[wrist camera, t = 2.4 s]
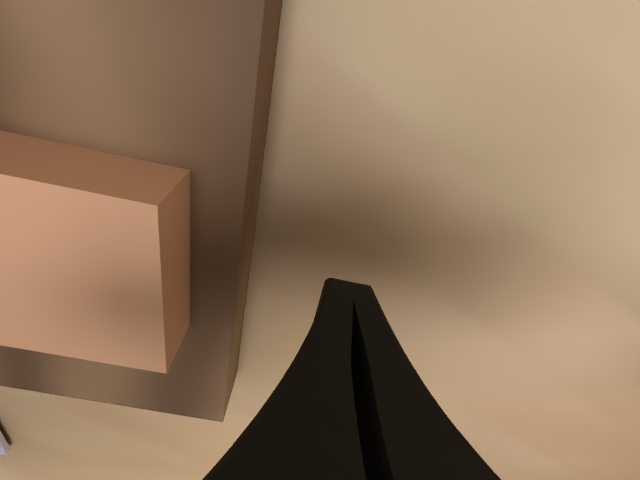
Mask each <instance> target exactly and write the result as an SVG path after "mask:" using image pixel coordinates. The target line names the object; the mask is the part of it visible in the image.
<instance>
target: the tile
mask: <svg viewBox="0 0 640 480" xmlns="http://www.w3.org/2000/svg"><path fill="white" fill-rule="evenodd" d="M189 326H190V170H187V169H182V168H178V167H173V166H168V165H163V164H159V163H154V162H149V161H144V160H140V159H135V158H130V157H125V156H121V155H116V154H111V153H106V152H102V151H97V150H92V149H87V148H83V147H78V146H73V145H68V144H64V143H59V142H54V141H49V140H45V139H40V138H35V137H30V136H26V135H21V134H16V133H11V132H7V131H2V130H0V345H2V346H8V347H14V348H20V349H26V350H31V351H37V352H43V353H49V354H55V355H61V356H66V357H72V358H78V359H84V360H90V361H95V362H101V363H107V364H113V365H119V366H125V367H130V368H136V369H142V370H148V371H154V372H160V373H165V374H167V372H168V370H169V368H170V365H171V363H172V361H173V359H174V357H175V355H176V353H177V351H178V349H179V347H180V345H181V342H182V340H183V338H184V336H185V334H186V332H187V330H188V328H189Z"/></svg>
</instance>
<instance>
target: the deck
mask: <svg viewBox="0 0 640 480" xmlns="http://www.w3.org/2000/svg"><path fill="white" fill-rule="evenodd" d="M281 7H282V0H0V130H2V131H7V132H11V133H16V134H21V135H26V136H30V137H35V138H40V139H45V140H49V141H54V142H59V143H64V144H68V145H73V146H78V147H83V148H87V149H92V150H97V151H102V152H106V153H111V154H116V155H121V156H125V157H130V158H135V159H140V160H144V161H149V162H154V163H159V164H163V165H168V166H173V167H178V168H182V169H187V170H190V326H189V328H188V330H187V332H186V334H185V336H184V338H183V340H182V342H181V345H180V347H179V349H178V351H177V353H176V355H175V357H174V359H173V361H172V363H171V365H170V368H169V370H168V372H167V374H165V373H160V372H154V371H148V370H142V369H136V368H130V367H125V366H119V365H113V364H107V363H101V362H95V361H90V360H84V359H78V358H72V357H66V356H61V355H55V354H49V353H43V352H37V351H31V350H26V349H20V348H14V347H8V346H2V345H0V386H6V387H12V388H18V389H25V390H31V391H37V392H43V393H49V394H55V395H61V396H67V397H73V398H79V399H85V400H91V401H98V402H104V403H110V404H116V405H122V406H128V407H134V408H140V409H146V410H152V411H158V412H165V413H171V414H177V415H183V416H189V417H195V418H201V419H207V420H213V421H219V422H223V420H224V416H225V413H226V409H227V406H228V402H229V399H230V395H231V392H232V388H233V385H234V381H235V378H236V374H237V367H238V359H239V350H240V342H241V334H242V326H243V318H244V310H245V301H246V293H247V285H248V277H249V269H250V261H251V252H252V244H253V236H254V228H255V220H256V211H257V203H258V195H259V187H260V179H261V171H262V162H263V154H264V146H265V138H266V130H267V122H268V113H269V105H270V97H271V89H272V81H273V73H274V64H275V56H276V48H277V40H278V32H279V24H280V15H281Z"/></svg>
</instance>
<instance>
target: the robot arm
mask: <svg viewBox="0 0 640 480" xmlns="http://www.w3.org/2000/svg"><path fill="white" fill-rule="evenodd" d="M9 449H10V448H9V445H8V443H7V441H6V440H5V438H4V436H3V434H2V432H1V431H0V455H5V454H6V453H7V451H8V450H9ZM203 480H501V479H500V478H499V477H498V476H497V475H496V474H495V473H494V472H493V470H492V469H491V468H490V467H489V466H488V465H487V464H486V463H485V461H484V460H483V459H482V458H481V457H480V456H479V454H478V453H477V452H476V451H475V450H474V448H473V447H472V446H471V445H470V444H469V443H468V441H467V440H466V439H465V438H464V437H463V435H462V434H461V433H460V432H459V431H458V429H457V428H456V427H455V426H454V424H453V423H452V422H451V421H450V419H449V418H448V417H447V415H446V414H445V413H444V412H443V410H442V409H441V407H440V406H439V405H438V403H437V402H436V400H435V399H434V398H433V396H432V395H431V393H430V392H429V390H428V389H427V387H426V386H425V384H424V383H423V381H422V380H421V378H420V377H419V375H418V374H417V372H416V370H415V369H414V367H413V366H412V364H411V362H410V361H409V359H408V357H407V356H406V354H405V352H404V350H403V349H402V347H401V345H400V343H399V341H398V340H397V338H396V336H395V334H394V332H393V330H392V329H391V327H390V325H389V323H388V321H387V319H386V317H385V315H384V313H383V311H382V309H381V306H380V304H379V302H378V300H377V298H376V296H375V294H374V291H373V289H372V288H371V286H369V285H364V284H358V283H353V282H348V281H343V280H338V279H333V278H329V279H327V280H325V283H324V286H323V290H322V293H321V297H320V300H319V304H318V308H317V311H316V315H315V318H314V322H313V324H312V326H311V329H310V331H309V333H308V335H307V337H306V338H305V340H304V342H303V344H302V346H301V348H300V350H299V352H298V353H297V355H296V357H295V359H294V360H293V362H292V364H291V365H290V367H289V369H288V370H287V372H286V373H285V375H284V376H283V378H282V379H281V381H280V383H279V384H278V385H277V387H276V388H275V390H274V391H273V393H272V394H271V396H270V397H269V398H268V400H267V401H266V403H265V404H264V405H263V407H262V408H261V410H260V411H259V412H258V414H257V415H256V416H255V417H254V419H253V420H252V421H251V423H250V424H249V425H248V426H247V428H246V429H245V430H244V431H243V433H242V434H241V435H240V436H239V438H238V439H237V440H236V441H235V443H234V444H233V445H232V446H231V448H230V449H229V450H228V451H227V452H226V454H225V455H224V456H223V457H222V458H221V459H220V460H219V462H218V463H217V464H216V465H215V466H214V467H213V468H212V469H211V471H210V472H209V473H208V474H207V475H206V476H205V477H204V478H203Z"/></svg>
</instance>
